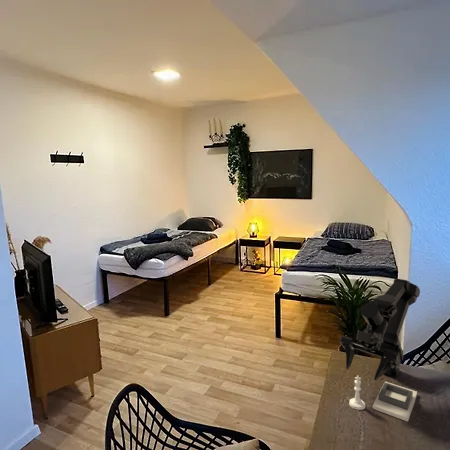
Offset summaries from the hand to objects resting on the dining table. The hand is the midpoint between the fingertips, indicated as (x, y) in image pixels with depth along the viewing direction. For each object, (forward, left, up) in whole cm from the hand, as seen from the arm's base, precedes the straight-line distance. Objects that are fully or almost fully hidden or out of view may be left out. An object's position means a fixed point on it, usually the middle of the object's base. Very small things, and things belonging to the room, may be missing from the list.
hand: (360, 374), depth 107 cm
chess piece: (+2, 0, -10) cm, 10 cm away
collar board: (-7, +9, -9) cm, 15 cm away
